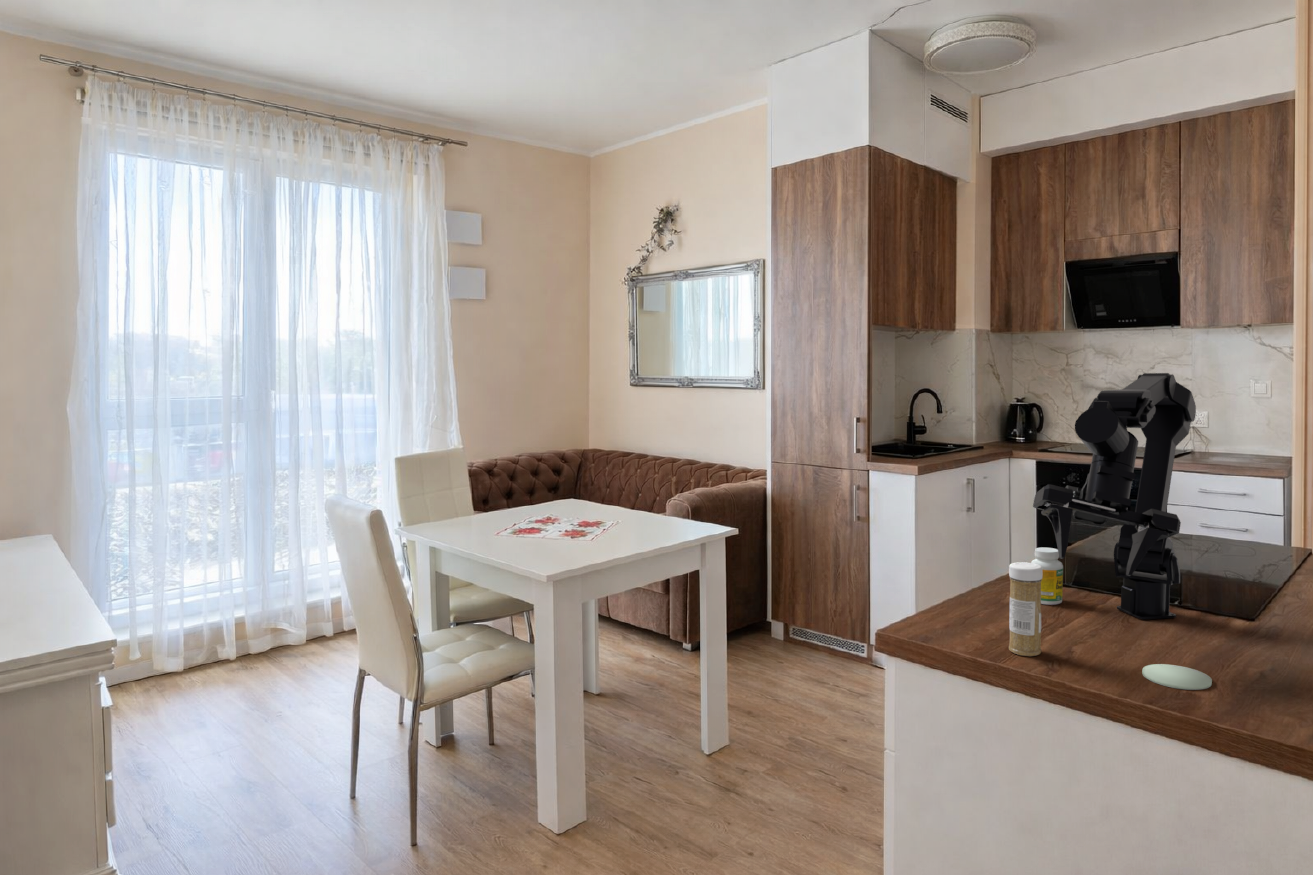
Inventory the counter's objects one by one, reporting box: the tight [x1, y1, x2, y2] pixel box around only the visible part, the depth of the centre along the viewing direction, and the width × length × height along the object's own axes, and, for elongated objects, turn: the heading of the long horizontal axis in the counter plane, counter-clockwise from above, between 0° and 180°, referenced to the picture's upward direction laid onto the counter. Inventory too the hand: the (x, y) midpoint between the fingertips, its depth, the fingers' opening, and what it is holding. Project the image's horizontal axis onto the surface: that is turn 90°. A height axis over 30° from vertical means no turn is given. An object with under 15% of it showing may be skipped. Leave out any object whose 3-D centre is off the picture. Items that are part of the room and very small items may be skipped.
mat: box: [1141, 663, 1213, 691], centre depth 110 cm, size 8×8×1 cm
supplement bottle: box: [1030, 546, 1064, 606], centre depth 147 cm, size 5×5×10 cm
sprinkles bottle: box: [1008, 561, 1043, 657], centre depth 121 cm, size 5×5×14 cm
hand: (1095, 566), depth 118 cm, fingers open, 9 cm apart
